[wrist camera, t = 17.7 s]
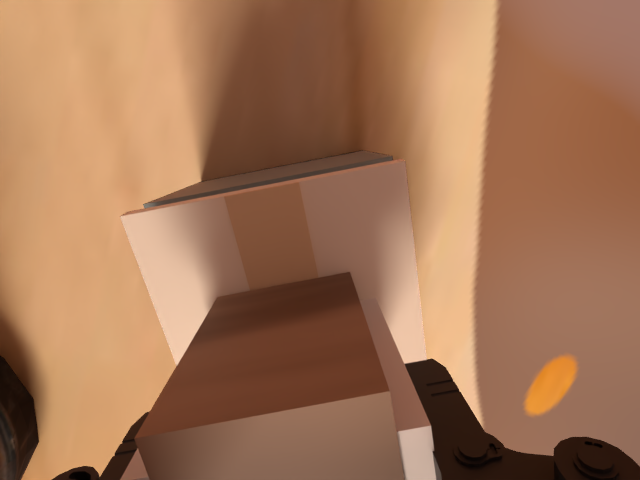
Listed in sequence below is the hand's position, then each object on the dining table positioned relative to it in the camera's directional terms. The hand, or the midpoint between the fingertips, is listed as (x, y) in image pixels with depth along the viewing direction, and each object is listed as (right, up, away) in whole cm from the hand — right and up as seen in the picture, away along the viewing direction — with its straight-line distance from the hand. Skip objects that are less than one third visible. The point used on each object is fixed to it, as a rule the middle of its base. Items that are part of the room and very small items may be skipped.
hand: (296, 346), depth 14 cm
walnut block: (0, 0, 0) cm, 0 cm away
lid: (0, 0, +1) cm, 1 cm away
